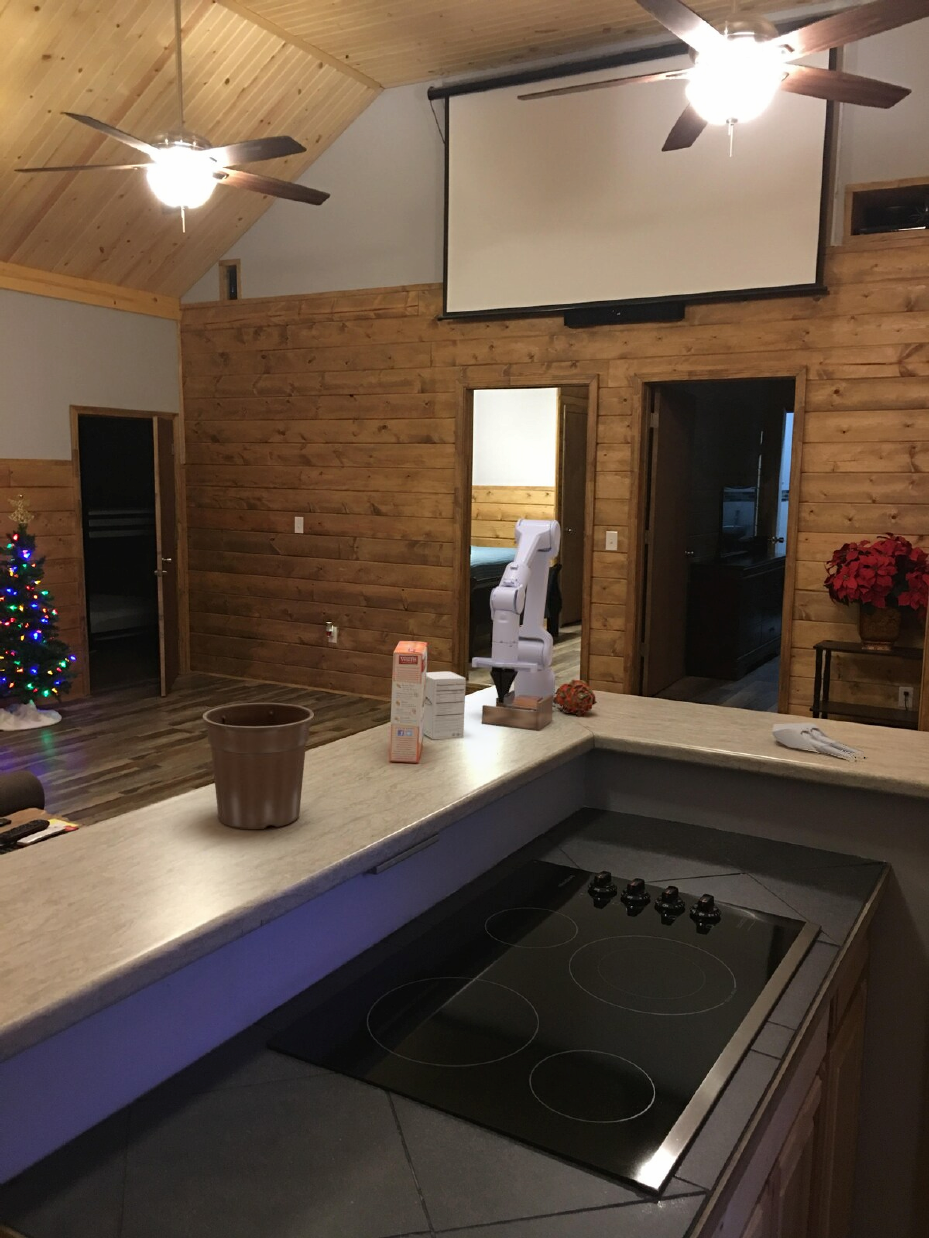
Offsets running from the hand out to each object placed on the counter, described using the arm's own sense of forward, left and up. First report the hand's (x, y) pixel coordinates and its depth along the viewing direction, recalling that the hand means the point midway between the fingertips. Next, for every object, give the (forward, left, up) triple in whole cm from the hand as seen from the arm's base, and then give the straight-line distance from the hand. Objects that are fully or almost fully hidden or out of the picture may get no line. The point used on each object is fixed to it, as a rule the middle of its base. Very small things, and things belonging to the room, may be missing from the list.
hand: (502, 701), depth 221 cm
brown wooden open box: (-2, +2, -4) cm, 5 cm away
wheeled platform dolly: (-4, +4, -3) cm, 6 cm away
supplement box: (+18, +8, -4) cm, 20 cm away
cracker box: (+30, +20, -4) cm, 36 cm away
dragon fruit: (-20, -3, -4) cm, 21 cm away
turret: (-52, +40, -5) cm, 66 cm away
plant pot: (+65, +48, -4) cm, 81 cm away
